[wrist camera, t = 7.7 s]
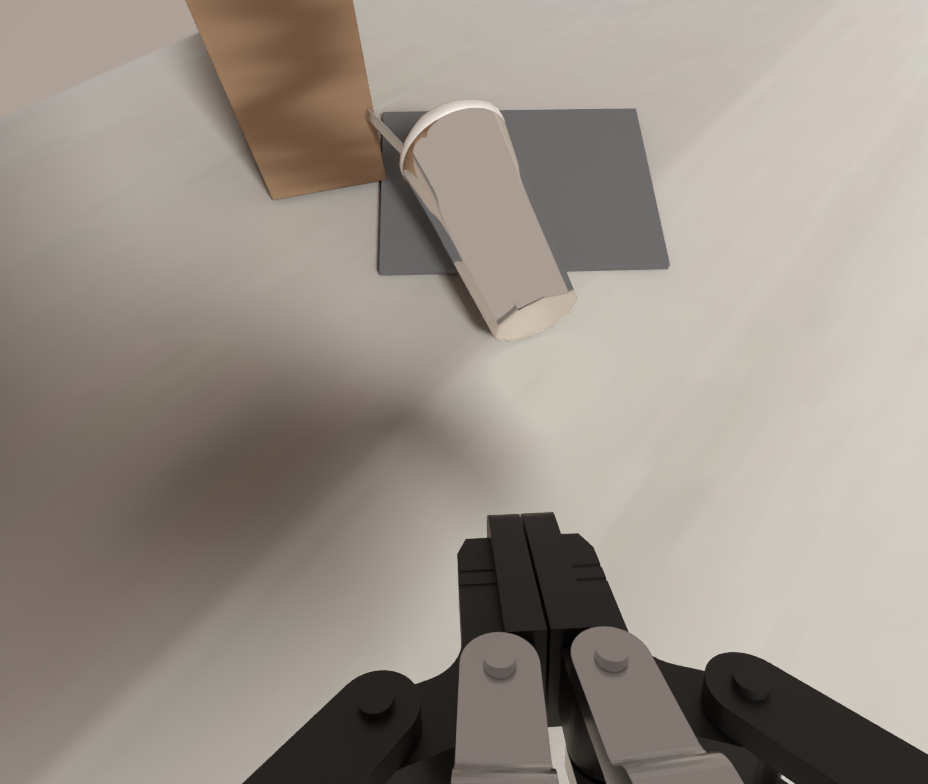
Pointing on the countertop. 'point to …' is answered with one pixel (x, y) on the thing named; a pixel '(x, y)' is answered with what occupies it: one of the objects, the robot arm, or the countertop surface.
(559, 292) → the milkshake
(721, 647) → the countertop surface
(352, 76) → the walnut block
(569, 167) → the mat
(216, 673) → the countertop surface
